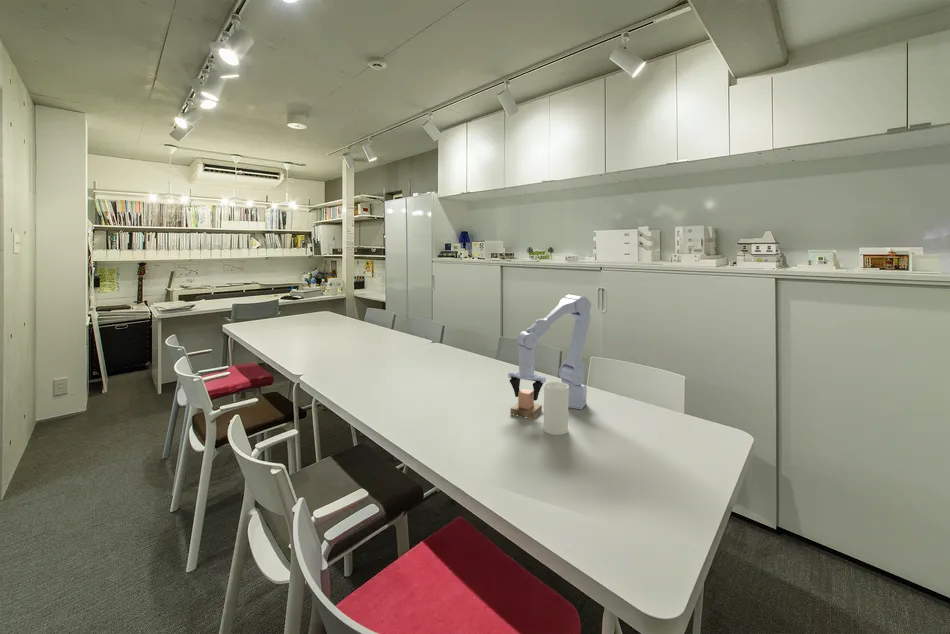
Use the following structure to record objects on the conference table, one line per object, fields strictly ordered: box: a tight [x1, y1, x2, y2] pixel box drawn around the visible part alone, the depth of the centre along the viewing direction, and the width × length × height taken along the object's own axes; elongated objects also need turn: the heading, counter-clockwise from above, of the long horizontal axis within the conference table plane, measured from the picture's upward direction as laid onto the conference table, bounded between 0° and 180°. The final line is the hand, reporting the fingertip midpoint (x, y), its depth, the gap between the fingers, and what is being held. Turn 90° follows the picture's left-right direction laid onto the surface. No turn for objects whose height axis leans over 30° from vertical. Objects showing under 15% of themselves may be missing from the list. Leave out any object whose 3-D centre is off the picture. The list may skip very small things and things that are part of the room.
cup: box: [543, 381, 569, 436], centre depth 139 cm, size 8×8×16 cm
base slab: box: [509, 402, 543, 420], centre depth 155 cm, size 9×9×3 cm
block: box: [517, 388, 535, 409], centre depth 154 cm, size 4×4×6 cm
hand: (526, 398), depth 154 cm, fingers open, 7 cm apart
